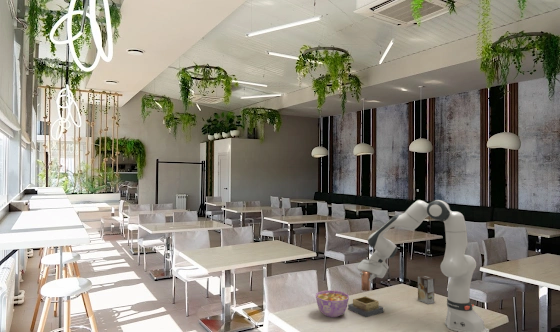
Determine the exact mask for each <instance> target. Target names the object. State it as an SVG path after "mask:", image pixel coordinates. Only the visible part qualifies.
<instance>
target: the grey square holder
mask: <svg viewBox="0 0 560 332" xmlns="http://www.w3.org/2000/svg"><path fill="white" fill-rule="evenodd" d="M379 303H380V301H379V300H376V299H374V298H371V297H369V296H361V297H356V298H354V299H352V303H350V304H349V303H348V304H347V307H348V310H349V311H351V312H353V313H356V314H357V315H359V316H362V317H365V318H369V317H371V316H375V315H379V314H382V313H384V307H383V306H381V305H380V304H379Z"/></svg>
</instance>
